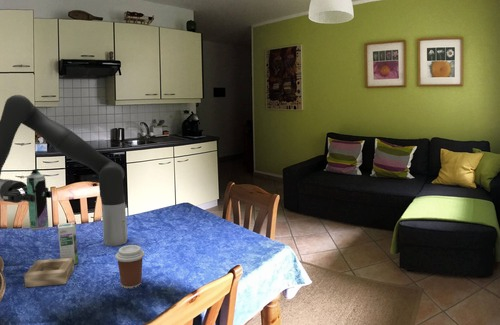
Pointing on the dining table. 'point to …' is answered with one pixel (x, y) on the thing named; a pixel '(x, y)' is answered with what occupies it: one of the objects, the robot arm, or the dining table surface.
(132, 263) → the coffee cup
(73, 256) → the syrup box
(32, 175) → the spray can
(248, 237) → the dining table surface
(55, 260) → the collar
